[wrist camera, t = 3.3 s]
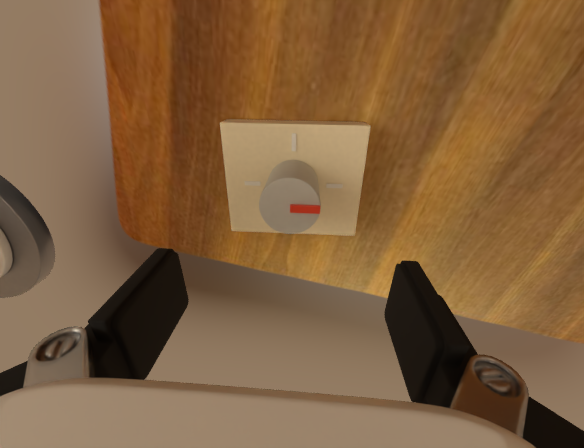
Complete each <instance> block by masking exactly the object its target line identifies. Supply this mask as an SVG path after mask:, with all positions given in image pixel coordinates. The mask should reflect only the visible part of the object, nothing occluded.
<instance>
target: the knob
mask: <svg viewBox="0 0 584 448" xmlns="http://www.w3.org/2000/svg"><path fill="white" fill-rule="evenodd" d="M320 209H321V203H320V194H319V184H318V178H317V175H316V173H315V171H314V170H313V169H312V168H311V167H310V166H309V165H308V164H306V163H304V162H302V161H299V160H287V161H283V162H281V163H280V164H278V165H277V166H276V167H275V168H274V169H273V170H272V172H271V173H270V176H269V178H268V180H267V182H266V185H265V187H264V189H263V191H262V194H261V196H260V200H259V210H260V213H261V216H262V218H263V220H264V221H265V222H266V223H267V224H268V225H269V226H270V227H271V228H272V229H274V230H276V231H278V232H281V233H285V234H296V233H301V232H303V231H305V230H307V229H309V228H310V227H311V226H312V225H313V224H314V223H315V222H316V220H317V219H318V217H319V214H320Z"/></svg>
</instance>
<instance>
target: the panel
mask: <svg viewBox="0 0 584 448" xmlns="http://www.w3.org/2000/svg"><path fill="white" fill-rule="evenodd" d="M370 127H371V126H370V125H368V124H367V123H365V122H340V121H292V120H244V119H228V120H225V121H222V122H220V129H221V138H222V148H223V157H224V166H225V175H226V185H227V194H228V203H229V212H230V222H231V231H245V232H271V233H281V232H278V231H276V230H274V229H272V228H271V227H270V226H269V225H268V224H267V223H266V222H265V221H264V220H263V218H262V216H261V213H260V210H259V200H260V196H261V194H262V191H263V189H264V187H265V185H266V182H267V180H268V178H269V176H270V173H271V172H272V170H273V169H274V168H275V167H276V166H277V165H278V164H280V163H281V162H283V161H287V160H299V161H302V162H304V163H306V164H308V165H309V166H310V167H311V168H312V169H313V170H314V171H315V173H316V175H317V178H318V184H319V194H320V203H321V209H320V214H319V217H318V219H317V220H316V222H315V223H314V224H313V225H312V226H311V227H310V228H309V229H307V230H305V231H303V232H301V233H296V234H321V235H347V236H355V230H356V223H357V216H358V209H359V202H360V195H361V189H362V182H363V175H364V168H365V161H366V154H367V147H368V141H369V134H370Z"/></svg>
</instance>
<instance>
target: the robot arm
mask: <svg viewBox="0 0 584 448" xmlns="http://www.w3.org/2000/svg"><path fill="white" fill-rule="evenodd" d="M12 261H13V258H12V250H11V247H10V244H9V242H8V240H7V238H6V236H5V234H4V233H3V231H2V230H1V228H0V278H1V277H2V276H4V275H5V274H6V273H8V271H9V270H10V268H11V265H12ZM187 305H188V295H187V291H186V286H185V282H184V278H183V273H182V269H181V265H180V261H179V256H178V254H177V253H176V252H174V250H173V249H164V248H159V249H157V250H156V251H155V252H154V253H153V254H152V255H151V256H150V257H149V258H148V259H147V260H146V261H145V262H144V263H143V264H142V265H141V266H140V267H139V268H138V269H137V270H136V271H135V273H134V274H133V275H132V276H131V277H130V278H129V279H128V280H127V281H126V282H125V283H124V284H123V285H122V286H121V287H120V288H119V289H118V290H117V291H116V292H115V293H114V294H113V295H112V296H111V297H110V298H109V299H108V301H107V302H106V303H105V304H104V305H103V306H102V307H101V308H100V309H99V310H98V311H97V312H96V313H95V314H94V315H93V316H92V317H91V318H90V319H89V320H88V323H89V324H88V325H87V326H86V327H85V329H83V328H82V327H68V328H64V329H61V330H58V331H56V332H54V333H52V334H50V335H49V336H47V337H45V338H44V339H42V340H41V341H40V342H39V343H38V344H37V345H36V346H35V347H34V348H33V350H32V351H31V353H30V355H29V357H28V361H26V362H24V363H22V364H19V365H17V366H15V367H13V368H11V369H9V370H6V371H4V372H2V373H0V448H584V431H583V430H581V429H579V428H578V427H576V426H575V425H573V424H572V423H570V422H568V421H567V420H565V419H564V418H562V417H560V416H559V415H557V414H556V413H554V412H553V411H551V410H550V409H548V408H546V407H545V406H543V405H542V404H540V403H538V402H537V401H535V400H534V399H532V398H531V397H529V393H528V388H527V386H526V383H525V381H524V380H523V379H522V378H521V376H520V375H519V374H518V373H517V372H516V371H515V370H514V369H513V368H512V367H510V366H509V365H507V364H506V363H504V362H503V361H501V360H498V359H497V358H494V357H492V356H487V355H478V354H477V352H476V351H475V349H474V348H473V346H472V344H471V343H470V341H469V339H468V338H467V336H466V335H465V333H464V331H463V330H462V328H461V326H460V325H459V323H458V322H457V320H456V318H455V317H454V315H453V314H452V312H451V310H450V309H449V307H448V305H447V304H446V302H445V301H444V299H443V298H442V297H441V296H440V295H438V294H437V292H436V291H435V289H434V287H433V286H432V284H431V283H430V281H429V279H428V278H427V276H426V274H425V273H424V271H423V269H422V268H421V266H420V264H419V263H418V262H417V261H402V262H401V263H400V264H397V265H396V268H395V272H394V276H393V280H392V284H391V288H390V292H389V296H388V300H387V304H386V308H385V320H386V323H387V326H388V329H389V333H390V336H391V339H392V342H393V345H394V348H395V352H396V355H397V358H398V361H399V365H400V367H401V370H402V374H403V377H404V380H405V384H406V387H407V390H408V393H409V396H410V399H411V401H412V402H405V401H396V400H386V399H375V398H366V397H354V396H343V395H330V394H319V393H306V392H296V391H283V390H271V389H258V388H245V387H233V386H220V385H207V384H193V383H180V382H166V381H153V380H144V379H145V378H146V377H147V375H148V374H149V372H150V371H151V369H152V367H153V365H154V364H155V362H156V360H157V358H158V357H159V355H160V353H161V351H162V350H163V348H164V346H165V344H166V343H167V341H168V339H169V337H170V336H171V334H172V332H173V330H174V329H175V327H176V325H177V323H178V322H179V320H180V318H181V316H182V315H183V313H184V311H185V309H186V308H187ZM415 402H416V403H415Z"/></svg>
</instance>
